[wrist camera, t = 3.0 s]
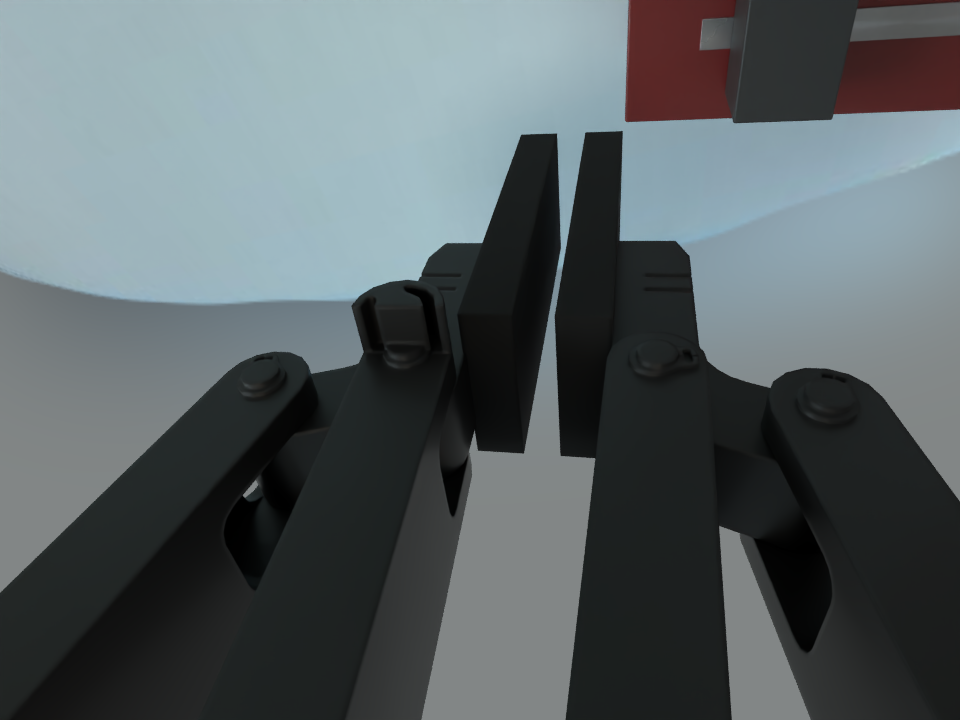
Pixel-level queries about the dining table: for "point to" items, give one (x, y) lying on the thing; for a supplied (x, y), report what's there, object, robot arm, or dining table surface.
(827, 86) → the toaster slider
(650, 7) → the toaster
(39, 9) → the dining table surface
